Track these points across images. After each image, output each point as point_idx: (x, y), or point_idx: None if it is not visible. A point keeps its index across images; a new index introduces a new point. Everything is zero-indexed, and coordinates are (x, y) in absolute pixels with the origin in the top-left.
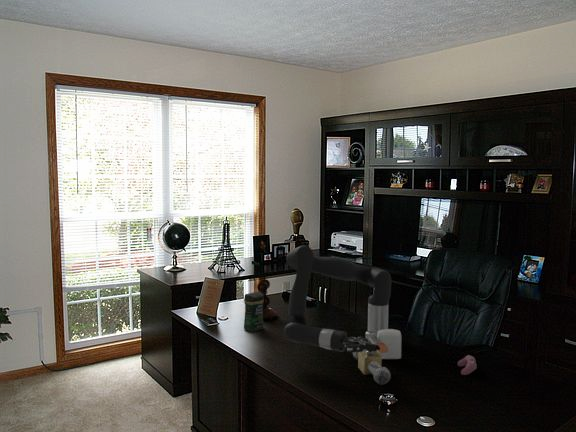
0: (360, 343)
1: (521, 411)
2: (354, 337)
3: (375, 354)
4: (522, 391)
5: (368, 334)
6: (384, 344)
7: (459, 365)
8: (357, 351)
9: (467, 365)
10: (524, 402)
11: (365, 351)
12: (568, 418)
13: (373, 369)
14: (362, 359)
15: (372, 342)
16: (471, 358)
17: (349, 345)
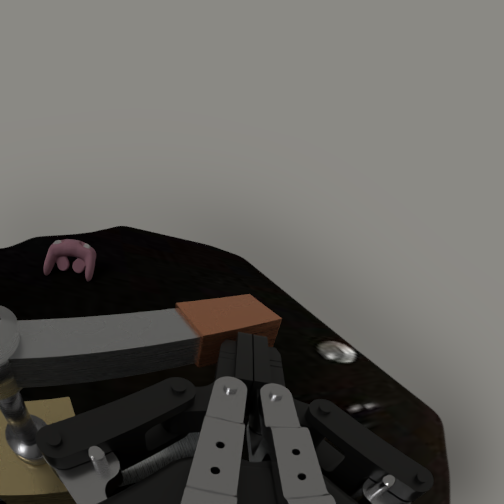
0: (295, 423)
1: (217, 265)
2: (198, 495)
3: (43, 418)
4: (149, 251)
5: (7, 350)
6: (213, 301)
7: (48, 273)
8: (339, 457)
9: (64, 262)
10: (186, 257)
11: (1, 457)
12: (214, 247)
13: (172, 459)
14: (74, 500)
15: (122, 368)
16: (77, 241)
17: (414, 476)
